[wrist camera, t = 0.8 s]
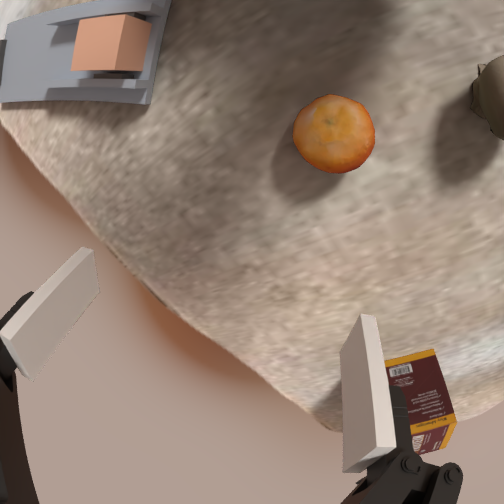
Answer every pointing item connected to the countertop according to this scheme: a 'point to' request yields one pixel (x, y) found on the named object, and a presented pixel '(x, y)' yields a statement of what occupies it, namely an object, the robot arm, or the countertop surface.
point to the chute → (61, 53)
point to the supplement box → (424, 399)
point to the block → (111, 44)
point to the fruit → (334, 134)
